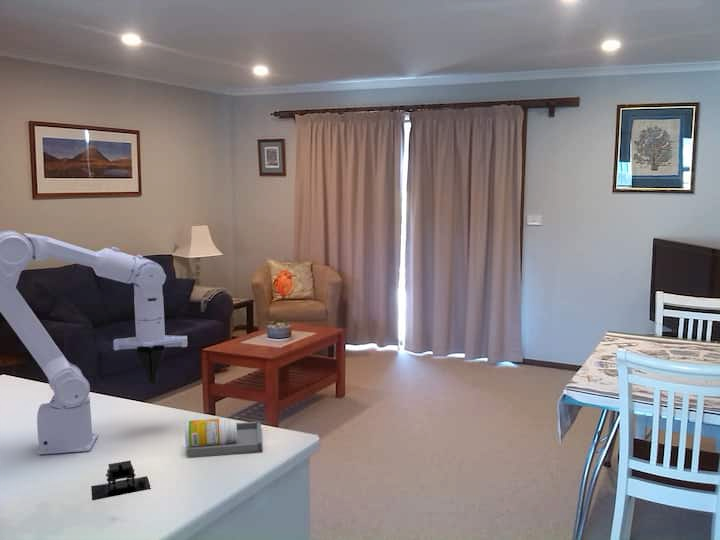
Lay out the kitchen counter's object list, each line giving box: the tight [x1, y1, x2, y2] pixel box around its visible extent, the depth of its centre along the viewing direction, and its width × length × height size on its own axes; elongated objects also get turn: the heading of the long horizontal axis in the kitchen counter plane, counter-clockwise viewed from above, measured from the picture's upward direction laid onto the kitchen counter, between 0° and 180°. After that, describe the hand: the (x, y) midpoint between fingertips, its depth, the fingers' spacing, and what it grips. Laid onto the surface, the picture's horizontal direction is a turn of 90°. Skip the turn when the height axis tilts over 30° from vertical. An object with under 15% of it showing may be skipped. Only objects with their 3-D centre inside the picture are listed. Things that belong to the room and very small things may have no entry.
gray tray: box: [186, 421, 263, 458], centre depth 132 cm, size 14×12×2 cm
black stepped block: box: [90, 460, 152, 501], centre depth 113 cm, size 12×7×5 cm, turn 114°
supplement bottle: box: [184, 417, 237, 450], centre depth 129 cm, size 5×5×10 cm
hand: (153, 381), depth 138 cm, fingers closed
